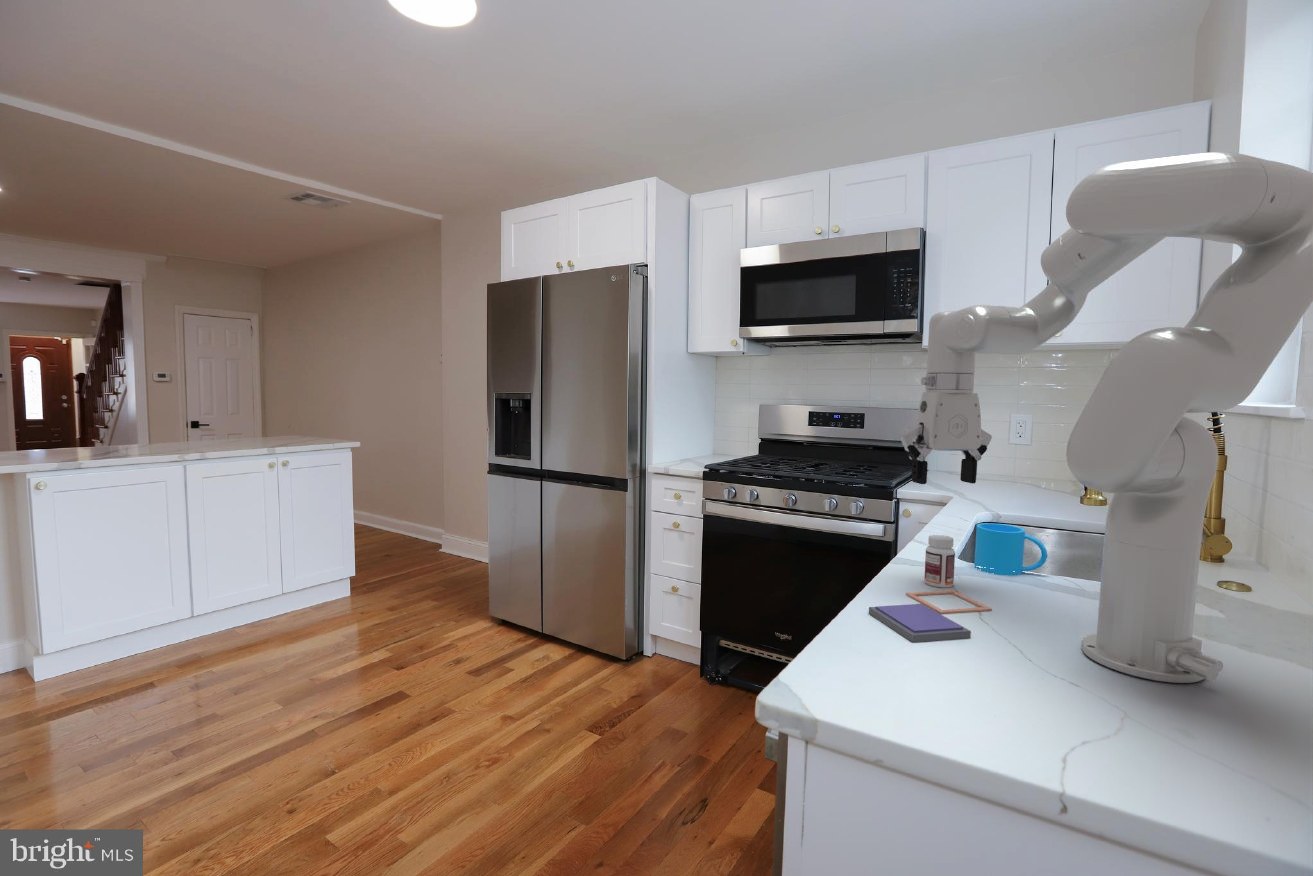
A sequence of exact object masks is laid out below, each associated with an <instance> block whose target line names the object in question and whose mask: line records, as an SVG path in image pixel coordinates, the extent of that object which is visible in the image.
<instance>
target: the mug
mask: <svg viewBox="0 0 1313 876" xmlns="http://www.w3.org/2000/svg"><path fill="white" fill-rule="evenodd" d="M975 534H976V535H975V549H974V550H975V551H974V564H973V565H975V567H974V568H975V569H976V568H977V569H976V570H978V569H981V571H980V572H983V573H987V572H988V573H987V574H991V573H994V574H993V575H998V576H1006V575H1007V576H1008V577H1009V576H1010V577H1013V576H1020V575H1022V574H1023V572H1029V571H1035V570H1036V569H1039V568H1041V567H1042V566H1043V565H1044V564H1046V561H1047V559H1048V550H1047V548H1046V547H1045V545H1044V544H1043V542H1041V541H1040V540H1039V539H1038V538H1036V537H1033V536H1032V535H1029V534H1026V530H1025V529H1024V528H1022V527H1018V526H1016V525H1015V526H1014V525H1010V524H1004V523H1003V524H1002V523H995V522H994V523H990V522H989V523H988V522H985V523H978V524H977V525H976V533H975ZM1026 540H1028V541H1031V542H1033V543H1034V544H1035V545H1036V546H1037V547H1038V548H1039V549H1040V553H1041V557H1040V559H1039V560H1038V562H1036V563H1035V564H1032V565H1029V566H1024V555H1025V553H1024V552H1025V541H1026ZM976 566H981V567H983V568H979V567H976ZM984 567H986V568H984ZM990 568H994V569H990ZM1013 571H1015V572H1013Z"/></svg>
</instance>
